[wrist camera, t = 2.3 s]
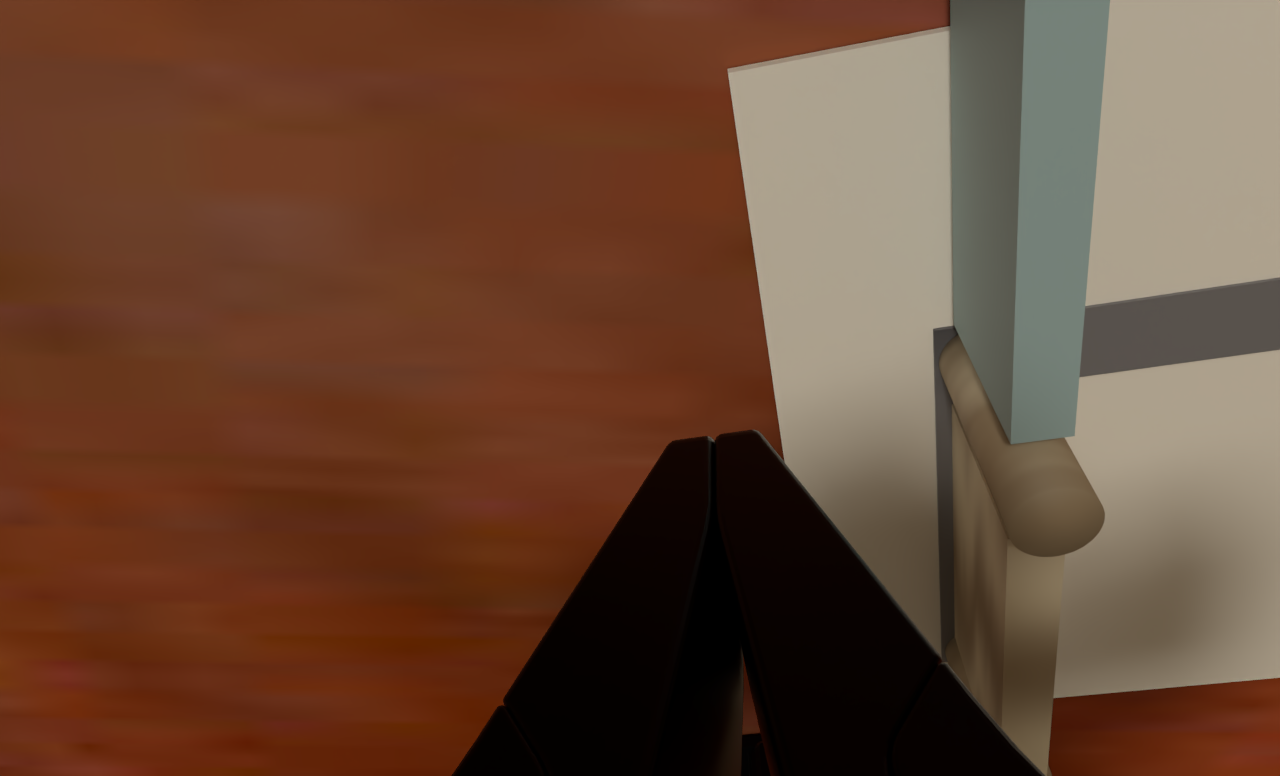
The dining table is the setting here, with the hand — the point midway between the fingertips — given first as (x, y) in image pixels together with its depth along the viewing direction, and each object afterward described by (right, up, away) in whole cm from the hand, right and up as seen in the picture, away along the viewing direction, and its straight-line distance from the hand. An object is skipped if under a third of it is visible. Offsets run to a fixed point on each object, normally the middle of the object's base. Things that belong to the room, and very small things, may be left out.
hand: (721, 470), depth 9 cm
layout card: (+12, 0, +15) cm, 20 cm away
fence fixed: (+9, -3, +17) cm, 19 cm away
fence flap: (+6, +7, +10) cm, 14 cm away
